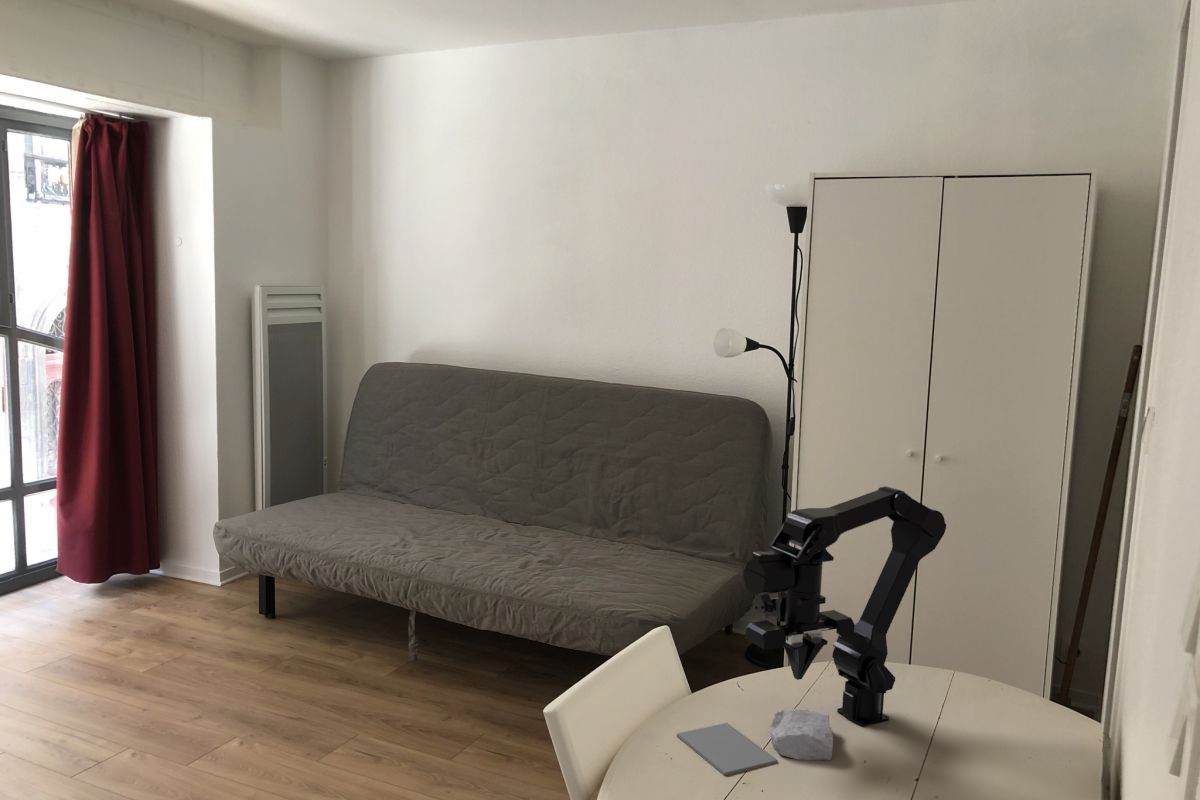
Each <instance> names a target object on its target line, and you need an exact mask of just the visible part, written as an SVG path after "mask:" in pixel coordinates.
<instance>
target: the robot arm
mask: <svg viewBox="0 0 1200 800" xmlns="http://www.w3.org/2000/svg"><path fill="white" fill-rule="evenodd" d="M886 517H887V518H888V519H889V520H890V521H892V526H891V529H890V533H891V535H890V536H891V544H892V545H891V546H892V547H891V551H890V552H889V555H888V557H887V559H886V561H885V563H884V565H883V568H882V570H881V572H880V575H879V576H878V579H877V581H876V583H875V586H874V587H873V589H872V592H871V594H870V596H869V598H868V600H867V603H866V604H865V607H864V610H863V612H862V613H861V615H860V618H859V620H858V621H857V622H856V623H855V622H854V620H853V619H852V617H850V616H848V615H846V614H843V613H842V612H840V611H837V610H835V609H831V610H824V611H821V609H820V608H821V605H822V604H826V601H827V600H826V599H827V598H826V597H827V596H826V597H825V596H823V595H821V594H822V581H823V580H822V578H823V576H822V575H823V564H824V563H825V562H832V561H834V559H835V557H834V556H833V555H832V554H831V553H830V552H829V551H828V550H827V548H829V547H830V546H832V545H834V544H835V543H836V542H837V541H838V539H839V538H840V536H841V535H842V534H843V535H844V533H847V532H849V531H852V530H854V529H857V528H860V527H862V526H865V525H868V524H871V523H873V522H875V521H879V520H882V519H884V518H886ZM946 530H947V523H946V520H945V517H944V515H943V513H942V512H941V511H939V510H936V509H933V508H930V507H928V506H926V505H924V504H922V503H921V502H919V501H917V500H915V499H914V498H912V497H911V496H910V495H909V494H907V493H906V492H905V491H904V490H900V489H897V488H894V487H890V486H886V485H885V486H882V487H881V486H880V487H879V488H877V489H876V490H873V491H871V492H869V493H865V494H863V495H860V496H858V497H855V498H852V499H848V500H846V501H844V502H841V503H838V504H835V505H833V506H830V507H823V508H822V507H808V508H800V509H795V510H792V511H790V512H788V514H786V518H785V520H784V522H783V524H782V525H781V527H780V528H779V530H778V531H777V533H776V534H775V536H774V538H773V539H772V541H771V543H770V544H769V545H768V550H769V551H761V550H760V551H753V552H752V558H751V559H750V560H748V561H747V563H746V565H745V567H744V569H743V573H742V574H743V581H744V584H745V587H746V589H747V591H748V592H749V593H750V594H751V595H753V596H755V597H754V603H753V605H754V611H755V613H756V614H757V615H761V614H763V618H764V619H766V620H759V621H753V622H749V623H748V624H747V625H746V627H745V634H744V635H745V640H747V641H748V642H751V643H752V644H754V646H755V645H756V646H757V647H759V648H760V649H762V650H766V651H772V650H776V649H782V648H784V650H785V653H786V655H787V659H788V663H789V666H790V668H791V672H792V675H793V676H792V677H793V678H794V679H795V680H797V681H799V680H802V679H803V678H804V677H805V674H806V673H807V671H808V669H809V668H810V667H811V664H812V663H813V661H814V660H815V658H816V657H817V656H818V654H819V653H820V652H821V650H822V649H823V647H824V646H826V645H828V643H829V641H828V640H827V639H825V638H823V632H826V631H831V630H836V634H837V635H838V637H837V638H836V640H835V641H834V643H833V644H832V647H834V648H833V650H832V656H831V657H832V658H833V663H834V666H835V667H836V669H837V673H838V676H839V677H842V678H844V679H846V681H845V682H844V690H843V691H842V692H843V693H842V704H841V706H842V707H839V708H837V709H836V710H837V711H836V712H837V713H838V714H840V715H842V716H843V717H845V718H847V719H848V720H849V721H852V722H853V723H855V724H857V725H858V726H860V727H865V726H870V725H875V724H879V723H882V722H883V723H884V722H888V721H889V720H890V716H888V715H887V714H885V713H884V699H885V694H886V693H887V691H890V690H892V689H893V687H894V684H895V681H896V677H895V675H893V673H892V672H891V671H890V670H889V668H887V666H886V665H885V664H886V660H887V656H888V654H889V653H888V652H889V651H888V642H887V633H888V631H889V628H890V627H891V624H892V623H893V620H894V618H895V615H896V614H897V611H898V609H899V607H900V605H901V603H902V600H903V598H904V596H905V594H906V592H907V589H908V587H909V584H910V583H911V581H912V579H913V577H914V574H915V571H916V569H917V567H918V565H919V563H920V561H921V560H922V559H923V558H924V557H926V556H928V555H929V554H930V553H932V552H933V551H934V550H935V549H937V547H938V545H939V544H940V542H941V540H942V538H943V536H944V535H945V533H946ZM789 543H790V544H792V545H795V546H796V547H795V546H792V545H790V544H789ZM797 547H800V548H801V549H800V548H797ZM775 593H779V594H778V597H771V596H770V594H775ZM770 617H775V618H774V620H775V621H777V622H780V623H783V624H781V625H777V624H774V623H773V622H771V621H769V620H767V618H770Z"/></svg>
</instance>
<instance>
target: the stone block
mask: <svg viewBox="0 0 1200 800" xmlns="http://www.w3.org/2000/svg"><path fill="white" fill-rule="evenodd" d="M772 718H773V719H772V720H771V722H770V723H771V725H770V728H769V734H770V740H771V745H772V748H773V749H775V751H776V752H777V754H779V755H781V756H784V757H787V758H791V759H794V760H800V761H801V760H805V761H806V760H807V761H826V762H828V761H831V759H832V758H833V750H834V735H833V730H832V727H831V725H830V724H831V723H830V716H829V713H827V712H826V713H819V712H816V711H814V710H809V709H802V708H790V709H789V708H788V709H782V710H780V711H777V712H775V713H773V717H772Z"/></svg>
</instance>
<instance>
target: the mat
mask: <svg viewBox="0 0 1200 800" xmlns="http://www.w3.org/2000/svg"><path fill="white" fill-rule="evenodd" d="M676 737H677V738H678V739H679V740H680V741H682V742H683V743H684V744H685V745H687V746H688V747H689V748H690V749H692V751H694V752H695V753H696V754H698V755H699V756H700V757H701V758H702V759H704V760H705V761H706V762H707V763H709V765H711V767H713V768H714V769H716V771H718V772H719V773H720V774H722V775H723V776H724V777H725V776H729V775H734V774H738V773H742V772H745V771H750V770H754V769H758V768H761V767H760V766H762V767H765V765H766V766H769V764H770V765H772V764H773V765H774V764H777V763H778V759H777V758H776V757H775V756H773V755H772V754H771V753H769V752H768V751H766V750H765V749H764V748H762V747H761V746H760V745H758V744H756V743H755V742H754V741H753V740H751V738H749V737H747V736H746V735H744V734H743V733H742V732H740V731H739V730H737V728H735V727H733V726H732V725H731V724H729V723H728V722H724V723H720V724H715V725H710V726H706V727H702V728H701V727H699V728H697V729H692V730H686V731H682V732H678V733H676ZM757 767H758V768H757Z"/></svg>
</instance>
